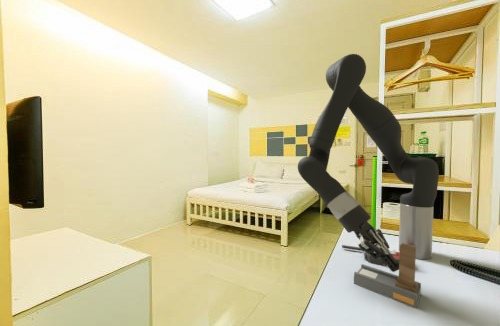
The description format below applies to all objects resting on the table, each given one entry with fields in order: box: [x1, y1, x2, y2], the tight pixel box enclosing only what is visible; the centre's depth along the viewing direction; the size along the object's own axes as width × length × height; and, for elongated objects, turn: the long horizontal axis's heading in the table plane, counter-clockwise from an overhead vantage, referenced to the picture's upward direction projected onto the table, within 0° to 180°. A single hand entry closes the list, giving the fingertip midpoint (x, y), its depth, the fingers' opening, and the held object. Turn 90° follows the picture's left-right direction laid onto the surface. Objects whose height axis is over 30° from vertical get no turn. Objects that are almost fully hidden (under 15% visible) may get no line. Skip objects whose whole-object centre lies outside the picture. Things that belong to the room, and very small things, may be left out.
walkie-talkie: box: [341, 244, 400, 266], centre depth 73 cm, size 9×4×20 cm
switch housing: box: [353, 263, 422, 309], centre depth 56 cm, size 7×14×3 cm, turn 46°
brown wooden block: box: [395, 243, 419, 293], centre depth 53 cm, size 4×4×10 cm
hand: (397, 269), depth 55 cm, fingers closed
